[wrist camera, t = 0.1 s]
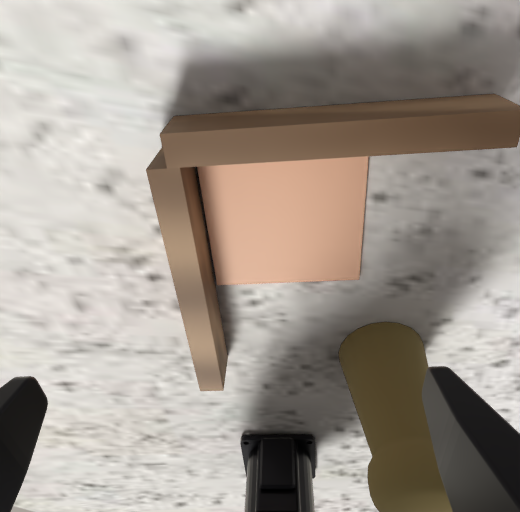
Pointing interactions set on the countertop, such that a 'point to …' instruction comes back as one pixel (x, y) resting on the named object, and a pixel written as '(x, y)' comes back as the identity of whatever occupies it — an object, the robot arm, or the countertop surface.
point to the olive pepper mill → (394, 416)
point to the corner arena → (289, 193)
